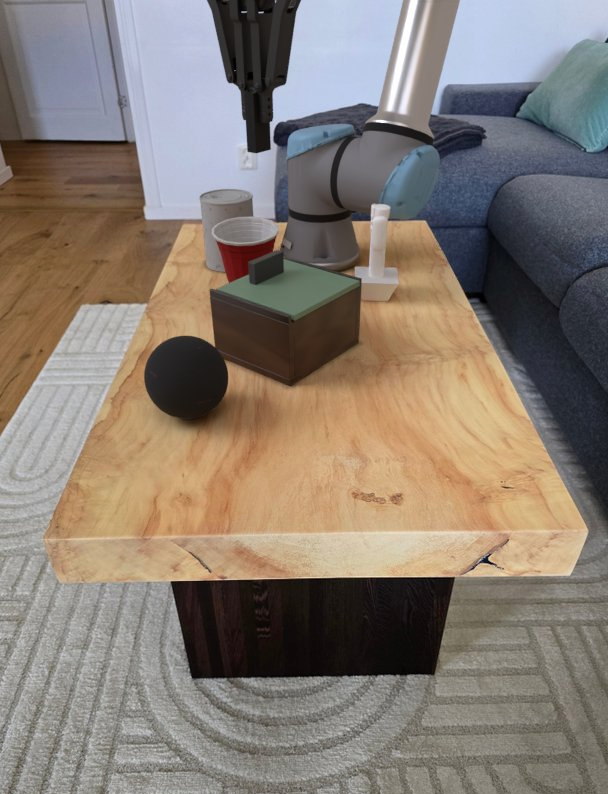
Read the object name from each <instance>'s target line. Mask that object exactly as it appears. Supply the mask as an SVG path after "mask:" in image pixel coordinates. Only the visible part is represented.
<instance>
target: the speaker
mask: <svg viewBox="0 0 608 794" xmlns="http://www.w3.org/2000/svg"><path fill="white" fill-rule="evenodd" d="M143 381H144V386H145V390H146V393H147V395H148V398H150V400H151V401H152V403H153V405H154V406H156V407H157V408H158V409H159V410H160V411H161V412H163V413H164V414H166V415H168V416H171V417H173V418H177V419H181V420H194V419H198V418H201V417H204V416H206V415H208V414H209V413H211V412H213V411H214V410H215V409H216V408H217V407H218V406H220V404H221V403H222V401H223V400H224V398H225V396H226V393H227V390H228V387H229V371H228V365H227V363H226V361H225V359H224V358H223V357H222V355H221V354H220V352H219V351H218V350H217V349H216V348H215V345H213V344H212V343H210V342H208V340H206V339H203V338H200V337H197V336H194V335H178V336H177V335H176V336H174V337H171V338H168V339H166V340H164V341H162V342H161V343H160V344H158V345H157V346H156V347H155V348H154V349H153V350H152V351H151V353H150V355H149V357H148V358H147V361H146V363H145V366H144V372H143Z"/></svg>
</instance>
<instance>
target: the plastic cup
mask: <svg viewBox="0 0 608 794" xmlns="http://www.w3.org/2000/svg"><path fill="white" fill-rule="evenodd" d="M279 232H280V226H279V224H278V223H276V222H275V221H274V220H271V219H268V218H265V217H258V216H253V217H237V218H232V219H227V220H225V221H222V222H220V223H218V224H217V225H215V226H214V227H213V228H212V236H213V237H214V238H215V240H216V242H217V245H218V247H219V251H220V253H221V257H222V261H223V264H224V268H225V272H224V273H225V276H226V280H227V282H228V283H230V282H233V281H235V280H237V279H240V278H242V277H244V276H246V275H249V265H248V262H250V261H252V260H254V259H257V258H259V257H262V256H264V255H266V254H269V253H271V252H274V249H275V243H276V239H277V236H278V235H279Z"/></svg>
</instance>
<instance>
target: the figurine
mask: <svg viewBox="0 0 608 794" xmlns="http://www.w3.org/2000/svg"><path fill="white" fill-rule="evenodd" d="M389 214H390V206H388V205H385V204H372V206H371V214H370V225H369V230H370V239H369V240H370V243H369V263H368V266H354V275H353V276H355V277H358V278H362V282H361V285H362V286H361V301H365V302H366V301H367V302H368V301H369V302H389V301H390V298H391V297H392V296H393V294H394V292H395V291H396V290H397V287H398V286H399V272H398V271H399V270H398V267H389V266H388V267H385V266H386V265H385V264H386V252H387V251H386V250H387V241H388V226H389V225H388V223H389V219H388V218H389Z"/></svg>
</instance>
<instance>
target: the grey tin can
mask: <svg viewBox="0 0 608 794" xmlns="http://www.w3.org/2000/svg"><path fill="white" fill-rule="evenodd" d="M253 199H254V195H253V193H252V192H251V191H247V190H245V189H238V188H221V189H213V190H209V191H208V190H207V191H206V192H203V193H201V194H200V195H199V203H200V212H201V222H202V223H201V224H202V233H203V241H204V243H203V244H204V250H205V251H204V252H205V261H206V262H205V265H206V266H207V268H208V269H210V270H212V271H215V272H218V273H226V272H225V268H224V264H223V261H222V257H221V253H220V251H219V247H218V245H217V242H216V240H215V238H214V237H213V236H212V228H213V227H214V226H215V225H217V224H218V223H220V222H222V221H225V220H227V219H232V218H237V217H254V204H253V203H254V201H253Z"/></svg>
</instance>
